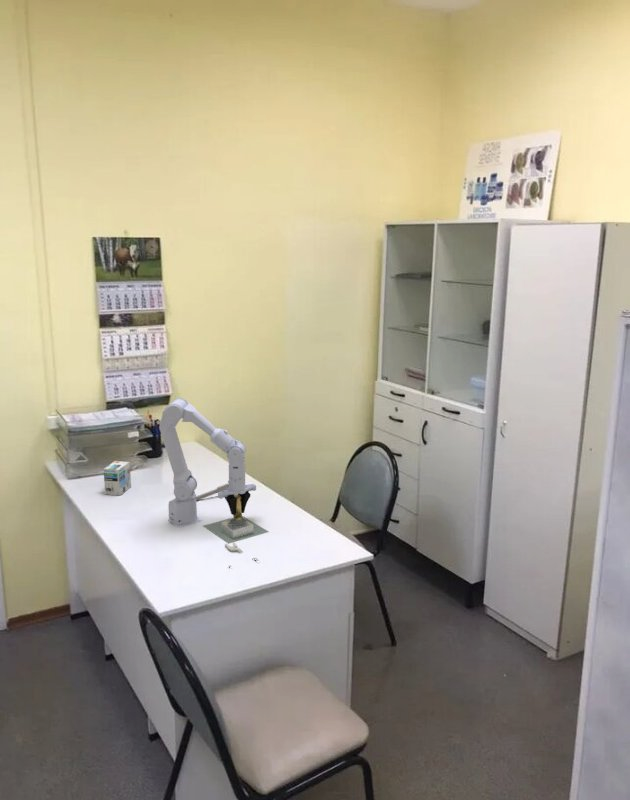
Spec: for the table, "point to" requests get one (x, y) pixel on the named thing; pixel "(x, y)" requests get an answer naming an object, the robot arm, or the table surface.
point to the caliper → (213, 491)
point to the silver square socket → (237, 528)
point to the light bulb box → (117, 478)
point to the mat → (217, 531)
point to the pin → (238, 506)
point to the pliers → (235, 549)
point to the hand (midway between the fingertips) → (237, 513)
